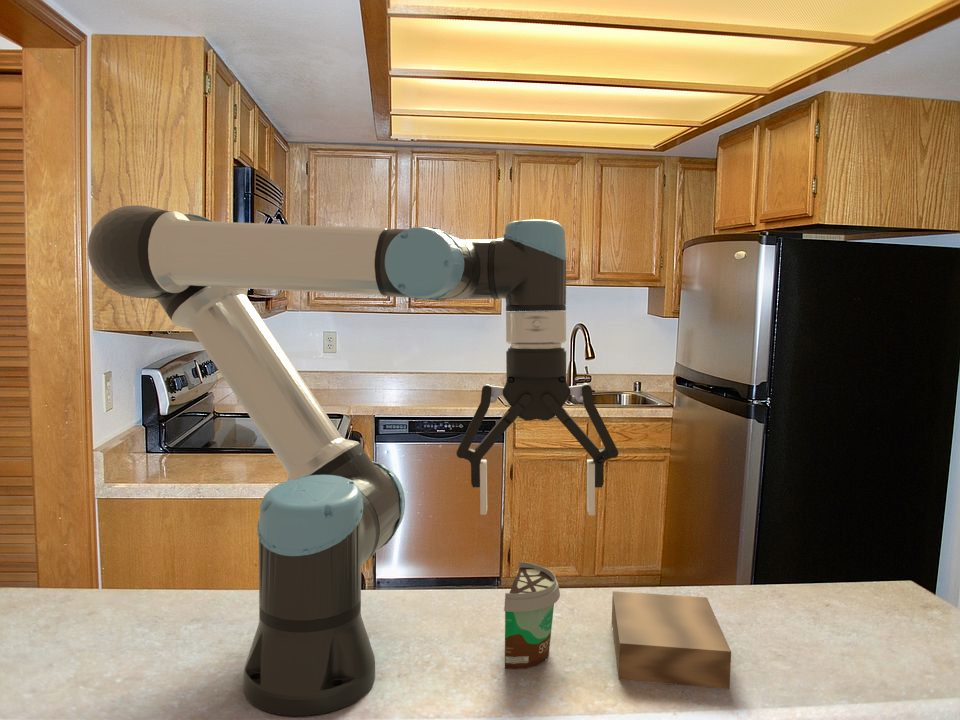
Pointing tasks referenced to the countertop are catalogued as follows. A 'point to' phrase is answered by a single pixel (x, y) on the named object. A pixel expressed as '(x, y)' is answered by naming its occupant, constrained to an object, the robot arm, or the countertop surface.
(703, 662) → the walnut block
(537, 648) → the food container
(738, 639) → the countertop surface
